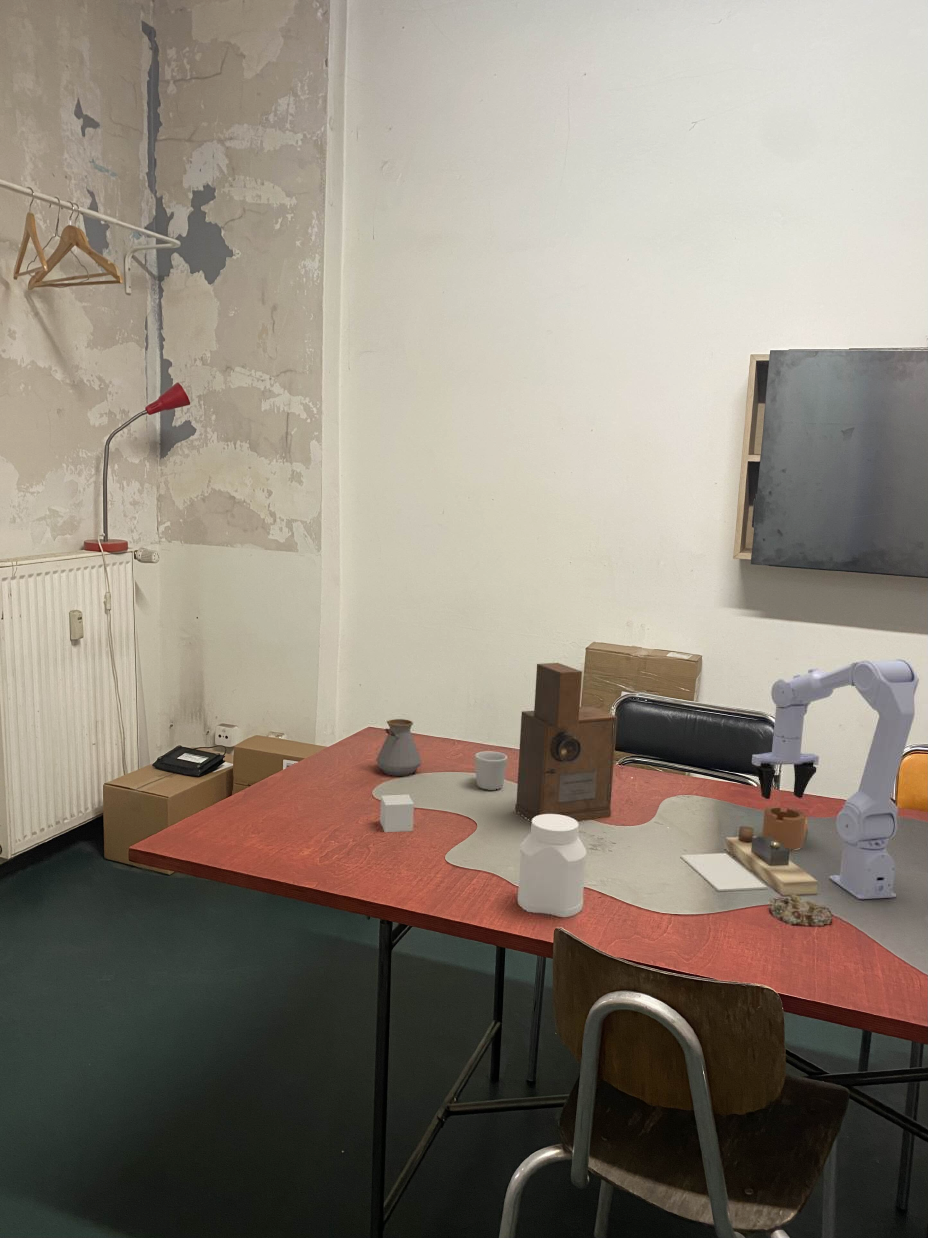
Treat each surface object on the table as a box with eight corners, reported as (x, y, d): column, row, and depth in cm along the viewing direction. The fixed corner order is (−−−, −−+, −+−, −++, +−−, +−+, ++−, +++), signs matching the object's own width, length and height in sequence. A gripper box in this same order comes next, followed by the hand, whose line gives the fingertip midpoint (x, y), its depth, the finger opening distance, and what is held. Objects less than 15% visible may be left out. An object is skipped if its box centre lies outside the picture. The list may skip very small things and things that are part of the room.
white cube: (412, 831, 191) (414, 804, 190) (384, 832, 190) (385, 805, 189) (407, 821, 197) (408, 794, 196) (380, 822, 195) (380, 795, 195)
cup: (463, 780, 226) (464, 749, 225) (491, 777, 230) (493, 746, 228) (482, 794, 217) (483, 761, 215) (511, 790, 220) (513, 758, 219)
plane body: (816, 893, 169) (819, 868, 169) (782, 895, 168) (785, 870, 167) (755, 847, 191) (757, 825, 190) (724, 849, 189) (726, 826, 189)
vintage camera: (547, 833, 193) (557, 672, 188) (515, 811, 206) (523, 659, 201) (621, 823, 202) (632, 668, 197) (585, 802, 214) (595, 656, 209)
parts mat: (766, 889, 171) (767, 887, 170) (718, 891, 168) (718, 889, 168) (725, 855, 186) (725, 853, 186) (680, 857, 184) (680, 855, 184)
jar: (512, 910, 157) (517, 827, 155) (522, 887, 166) (527, 809, 164) (579, 920, 154) (585, 836, 152) (585, 896, 164) (591, 817, 162)
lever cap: (788, 865, 176) (790, 846, 175) (769, 866, 175) (771, 847, 175) (769, 850, 183) (770, 832, 182) (751, 851, 182) (752, 833, 181)
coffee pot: (382, 762, 237) (384, 706, 235) (425, 766, 236) (427, 710, 234) (360, 788, 217) (362, 727, 214) (407, 793, 215) (409, 731, 213)
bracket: (800, 854, 189) (803, 822, 188) (759, 846, 192) (762, 814, 191) (808, 827, 205) (811, 798, 204) (769, 820, 209) (772, 791, 208)
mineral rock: (768, 910, 157) (771, 881, 164) (765, 930, 159) (768, 900, 166) (835, 925, 154) (834, 894, 160) (831, 945, 155) (831, 914, 162)
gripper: (807, 730, 197) (801, 790, 199) (746, 730, 195) (741, 791, 196) (826, 738, 191) (820, 801, 192) (764, 739, 188) (758, 802, 189)
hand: (781, 797), depth 194 cm, fingers open, 7 cm apart
